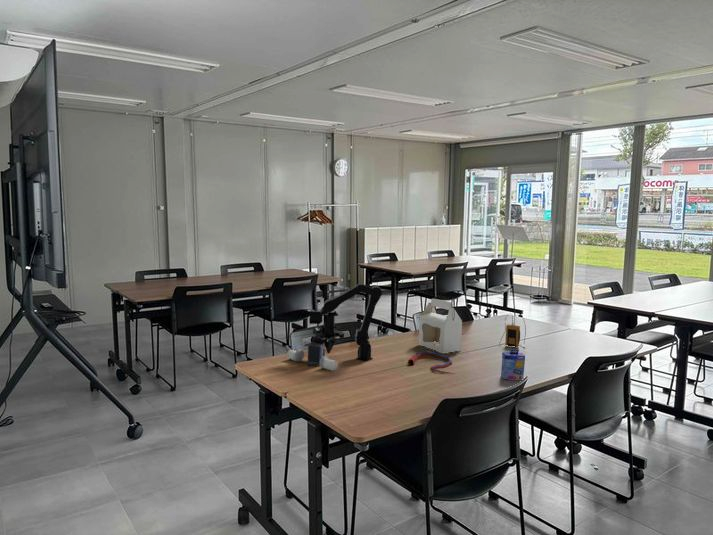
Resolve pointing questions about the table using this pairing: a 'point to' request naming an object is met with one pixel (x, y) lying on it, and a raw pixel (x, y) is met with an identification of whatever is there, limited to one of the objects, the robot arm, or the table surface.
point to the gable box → (440, 327)
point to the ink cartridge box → (512, 365)
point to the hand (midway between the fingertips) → (328, 353)
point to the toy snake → (433, 355)
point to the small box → (315, 353)
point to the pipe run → (324, 363)
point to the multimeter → (513, 334)
